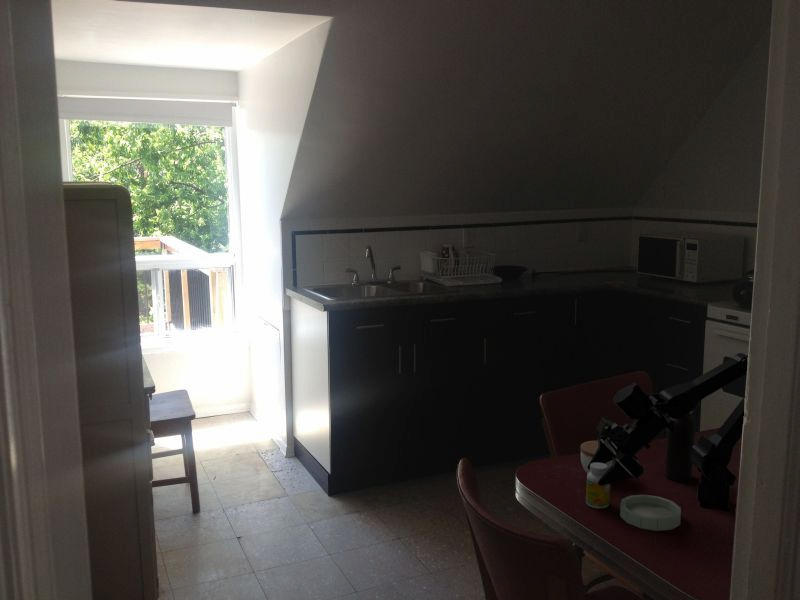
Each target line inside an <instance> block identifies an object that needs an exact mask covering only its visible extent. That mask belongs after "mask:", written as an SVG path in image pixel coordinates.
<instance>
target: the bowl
mask: <svg viewBox="0 0 800 600" xmlns="http://www.w3.org/2000/svg"><path fill="white" fill-rule="evenodd" d="M619 516H620V518H621V519H622V520H623V521H624V522H625V523H626V524H629V525H632V526H634V527H636V528H639V529H641V530H642V529H643V530H649V531H655V532H656V531H657V532H659V531H671V530H674V529H676V528H677V527H679V526H681V521H682V520H681V516H682V508H681V506H679V505H678V504H676V503H675V502H674V501H673V500H669V499H667V498H664V497H662V496H658V495H657V496H655V495H652V494H651V495H650V494H649V495H648V494H635V495H628V496H626V497H624V498H622V499H621V501H620V506H619Z"/></svg>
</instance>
